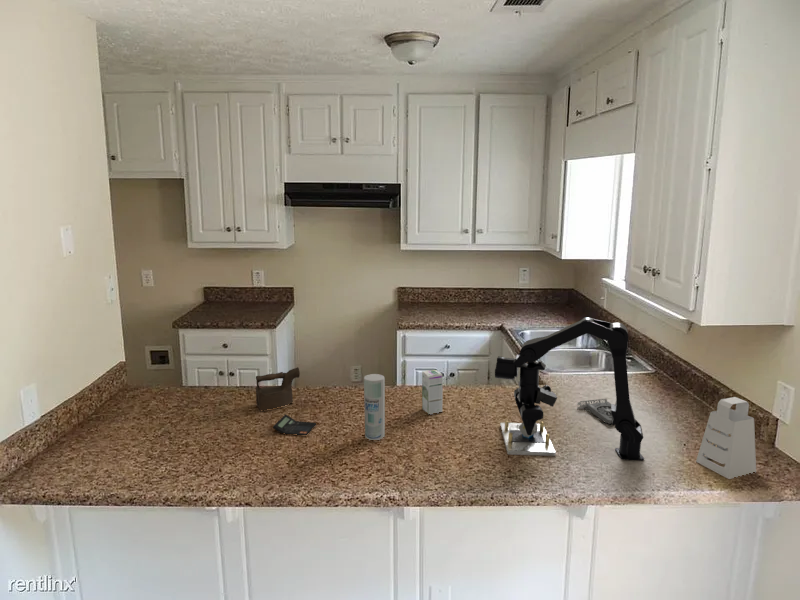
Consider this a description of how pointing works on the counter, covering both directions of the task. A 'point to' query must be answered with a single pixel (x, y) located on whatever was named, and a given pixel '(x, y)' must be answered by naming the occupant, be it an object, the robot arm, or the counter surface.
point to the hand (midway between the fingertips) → (526, 428)
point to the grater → (729, 440)
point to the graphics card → (598, 409)
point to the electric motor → (523, 430)
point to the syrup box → (432, 391)
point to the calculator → (293, 426)
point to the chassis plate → (526, 440)
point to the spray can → (374, 406)
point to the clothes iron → (276, 390)
